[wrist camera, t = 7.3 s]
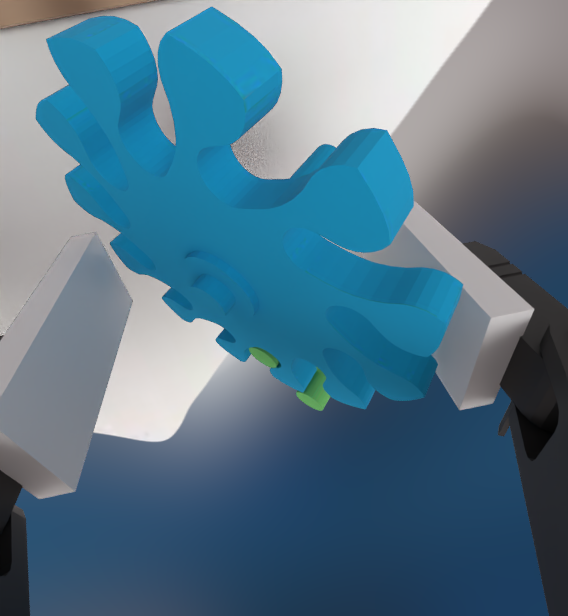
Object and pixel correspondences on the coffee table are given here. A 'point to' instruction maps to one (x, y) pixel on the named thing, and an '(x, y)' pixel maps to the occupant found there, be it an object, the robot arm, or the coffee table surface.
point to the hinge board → (53, 9)
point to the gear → (247, 210)
